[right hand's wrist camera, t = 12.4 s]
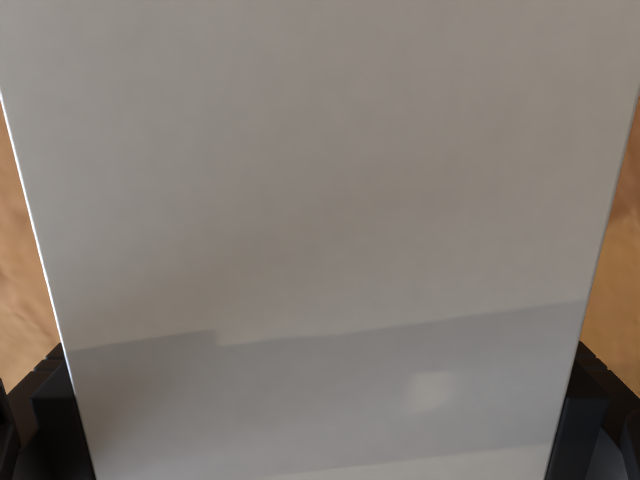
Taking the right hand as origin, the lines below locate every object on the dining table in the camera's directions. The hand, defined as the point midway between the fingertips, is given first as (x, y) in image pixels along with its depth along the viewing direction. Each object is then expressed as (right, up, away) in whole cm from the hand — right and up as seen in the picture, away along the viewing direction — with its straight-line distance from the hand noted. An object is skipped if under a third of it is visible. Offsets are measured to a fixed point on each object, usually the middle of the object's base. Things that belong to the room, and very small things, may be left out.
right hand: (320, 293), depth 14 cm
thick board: (0, -27, +11) cm, 29 cm away
